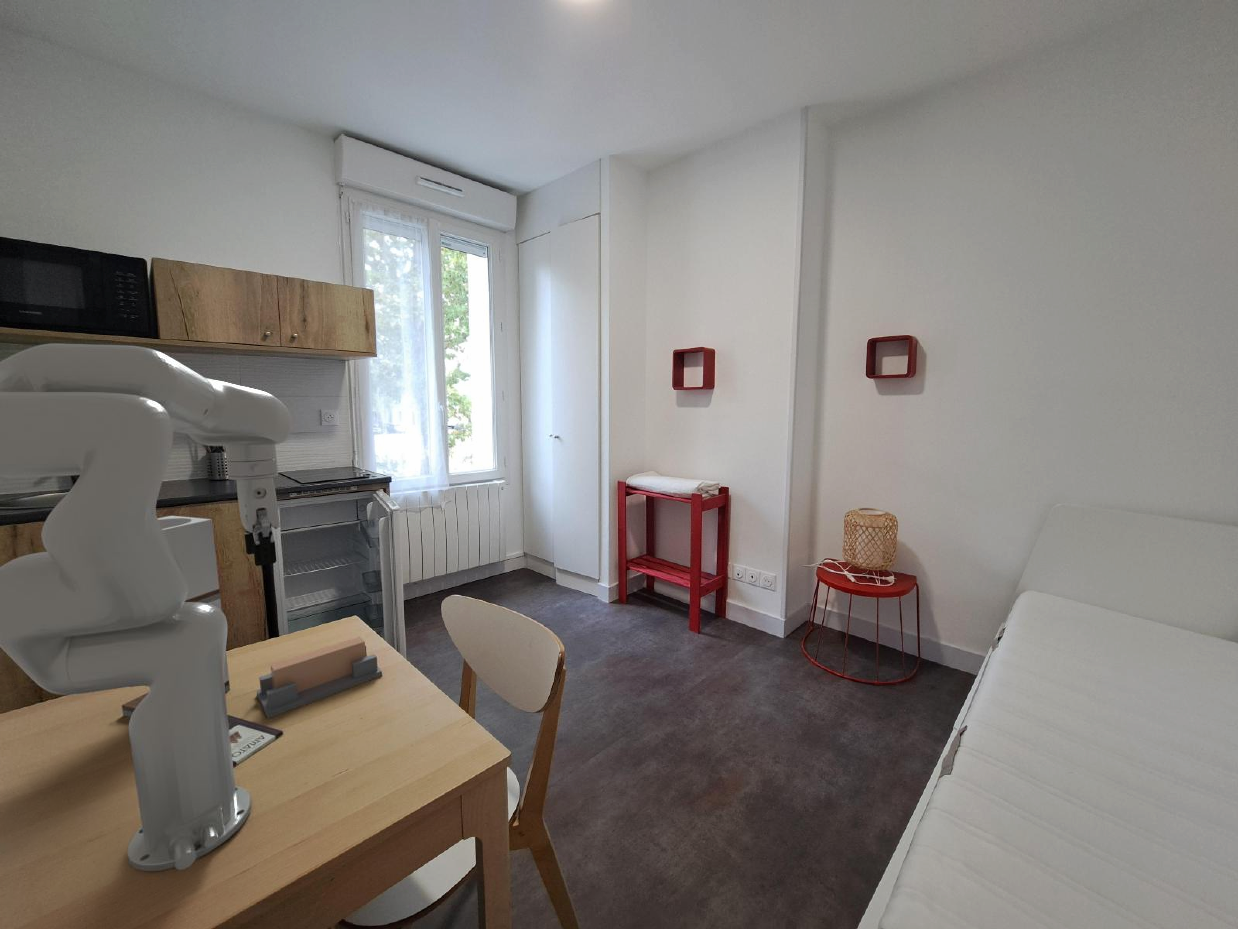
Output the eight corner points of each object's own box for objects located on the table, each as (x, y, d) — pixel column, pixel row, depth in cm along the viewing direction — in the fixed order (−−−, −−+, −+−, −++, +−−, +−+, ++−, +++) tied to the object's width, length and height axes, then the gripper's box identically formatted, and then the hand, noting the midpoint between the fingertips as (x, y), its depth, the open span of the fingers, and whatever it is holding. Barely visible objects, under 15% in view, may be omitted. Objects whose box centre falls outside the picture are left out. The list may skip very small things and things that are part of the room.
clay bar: (366, 668, 105) (364, 641, 104) (276, 700, 94) (273, 670, 93) (361, 662, 107) (359, 636, 106) (273, 693, 96) (270, 664, 95)
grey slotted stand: (382, 675, 104) (381, 657, 103) (267, 718, 90) (265, 698, 89) (365, 658, 111) (364, 641, 110) (257, 695, 97) (255, 676, 96)
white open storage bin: (191, 681, 101) (171, 515, 97) (230, 689, 99) (211, 519, 94) (123, 715, 90) (97, 530, 86) (164, 725, 88) (140, 534, 83)
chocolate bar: (212, 710, 91) (282, 731, 86) (212, 714, 91) (283, 736, 86) (153, 742, 83) (227, 767, 77) (154, 747, 83) (228, 773, 77)
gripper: (286, 471, 88) (294, 564, 90) (268, 463, 100) (275, 545, 103) (234, 476, 83) (243, 574, 85) (221, 467, 95) (230, 552, 97)
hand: (261, 558), depth 94 cm, fingers open, 9 cm apart
